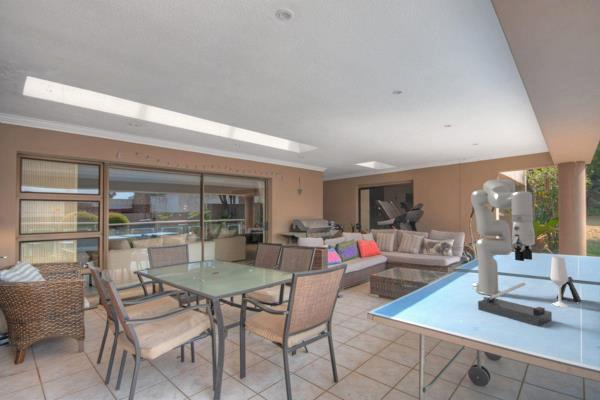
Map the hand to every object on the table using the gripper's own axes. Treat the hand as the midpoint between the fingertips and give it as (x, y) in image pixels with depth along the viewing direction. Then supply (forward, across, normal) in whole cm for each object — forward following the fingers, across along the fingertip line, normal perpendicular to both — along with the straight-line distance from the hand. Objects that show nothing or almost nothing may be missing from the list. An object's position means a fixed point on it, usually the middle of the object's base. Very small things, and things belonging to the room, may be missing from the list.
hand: (523, 259), depth 129 cm
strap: (+16, 0, +8) cm, 18 cm away
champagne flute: (+26, +37, +1) cm, 45 cm away
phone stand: (+26, +53, +3) cm, 59 cm away
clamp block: (+26, 0, +5) cm, 26 cm away
